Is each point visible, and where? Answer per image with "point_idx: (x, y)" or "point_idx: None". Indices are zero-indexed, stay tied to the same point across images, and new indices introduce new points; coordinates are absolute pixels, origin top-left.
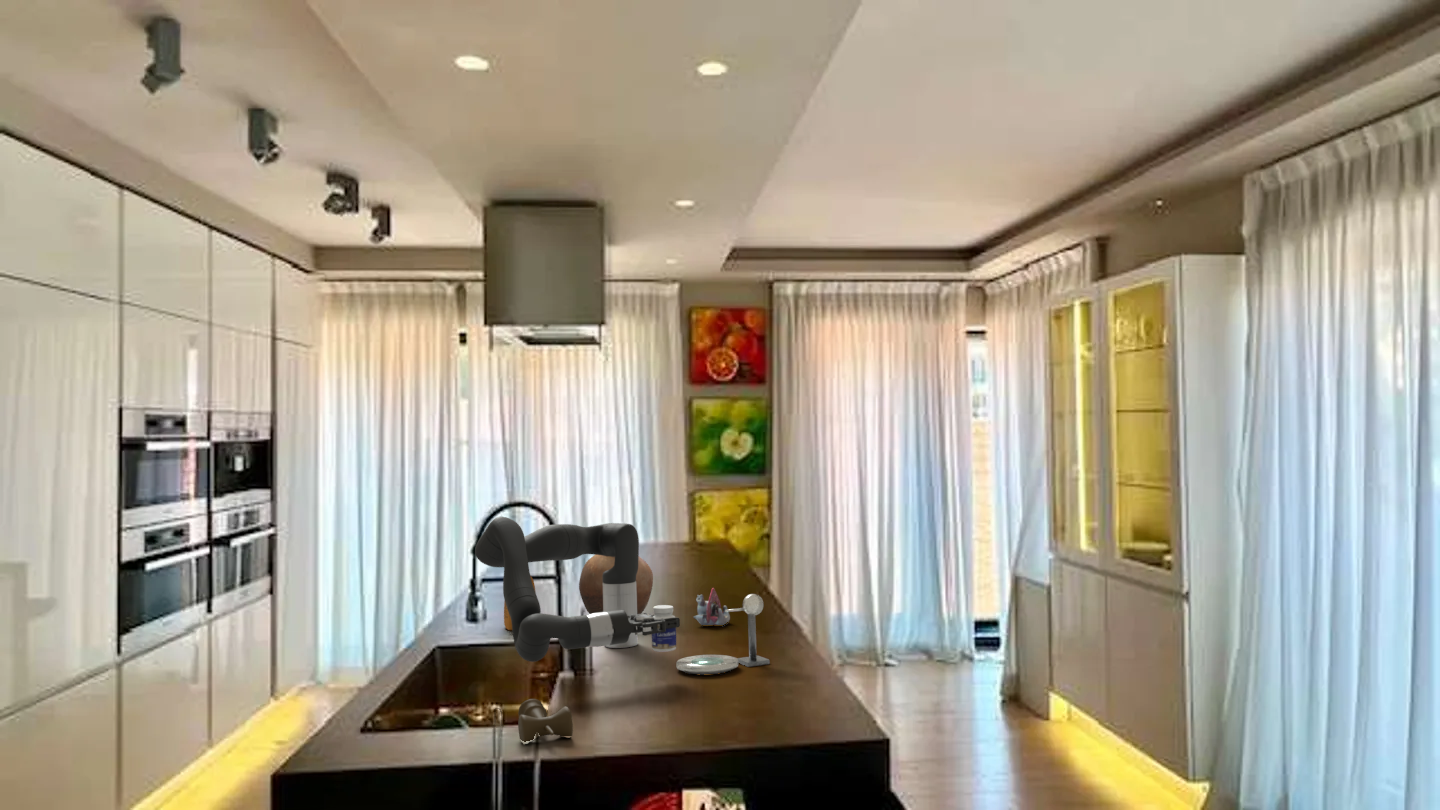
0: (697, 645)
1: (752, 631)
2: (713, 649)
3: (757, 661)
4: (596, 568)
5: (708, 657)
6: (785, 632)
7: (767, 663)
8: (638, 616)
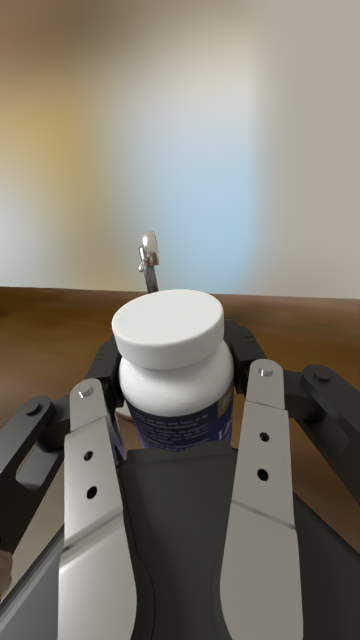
0: (15, 351)
1: (157, 288)
2: (56, 342)
3: None
4: None
5: None
6: (70, 291)
7: None
8: (125, 508)
